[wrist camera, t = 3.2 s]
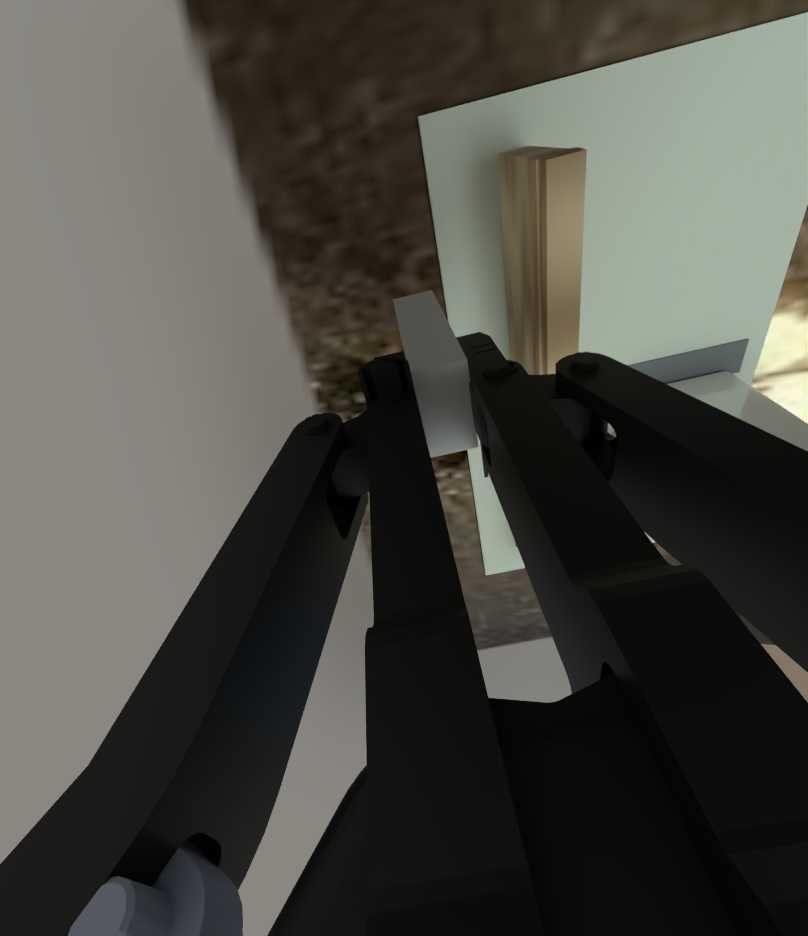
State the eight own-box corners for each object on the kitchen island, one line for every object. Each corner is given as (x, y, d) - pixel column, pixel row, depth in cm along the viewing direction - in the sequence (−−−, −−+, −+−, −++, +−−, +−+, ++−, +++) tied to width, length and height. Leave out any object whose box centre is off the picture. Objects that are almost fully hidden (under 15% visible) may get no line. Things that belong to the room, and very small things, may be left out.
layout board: (417, 116, 17) (418, 116, 17) (866, -4, 16) (876, -7, 16) (485, 572, 35) (486, 576, 35) (701, 529, 34) (705, 533, 33)
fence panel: (536, 386, 24) (577, 445, 20) (509, 392, 24) (544, 452, 20) (531, 144, 17) (591, 148, 13) (494, 154, 18) (541, 161, 13)
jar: (582, 429, 27) (703, 595, 17) (715, 340, 24) (952, 481, 14) (640, 504, 31) (762, 668, 22) (758, 436, 28) (960, 593, 19)
